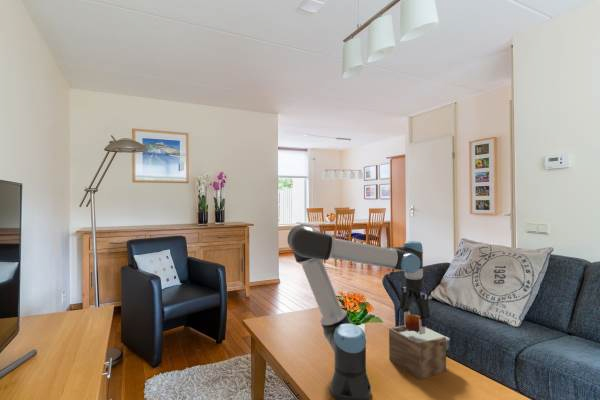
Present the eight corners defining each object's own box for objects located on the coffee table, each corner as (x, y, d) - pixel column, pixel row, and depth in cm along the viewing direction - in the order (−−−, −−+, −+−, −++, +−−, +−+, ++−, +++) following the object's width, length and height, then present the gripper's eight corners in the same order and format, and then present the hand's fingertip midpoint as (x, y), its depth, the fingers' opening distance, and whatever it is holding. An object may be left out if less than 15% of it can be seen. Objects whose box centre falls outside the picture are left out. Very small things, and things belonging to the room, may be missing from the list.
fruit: (402, 330, 136) (404, 311, 140) (405, 334, 142) (406, 315, 146) (422, 333, 133) (423, 313, 136) (425, 337, 139) (425, 318, 142)
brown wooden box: (420, 380, 128) (420, 345, 128) (388, 359, 146) (388, 328, 146) (447, 371, 134) (446, 338, 134) (413, 352, 152) (413, 322, 152)
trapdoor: (419, 358, 131) (418, 346, 131) (393, 343, 145) (393, 332, 145) (449, 349, 138) (449, 338, 138) (423, 336, 152) (422, 326, 152)
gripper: (439, 281, 132) (440, 337, 132) (403, 271, 151) (404, 320, 151) (425, 284, 129) (426, 341, 129) (390, 273, 148) (391, 323, 148)
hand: (414, 329), depth 140 cm, fingers closed on fruit, 8 cm apart
